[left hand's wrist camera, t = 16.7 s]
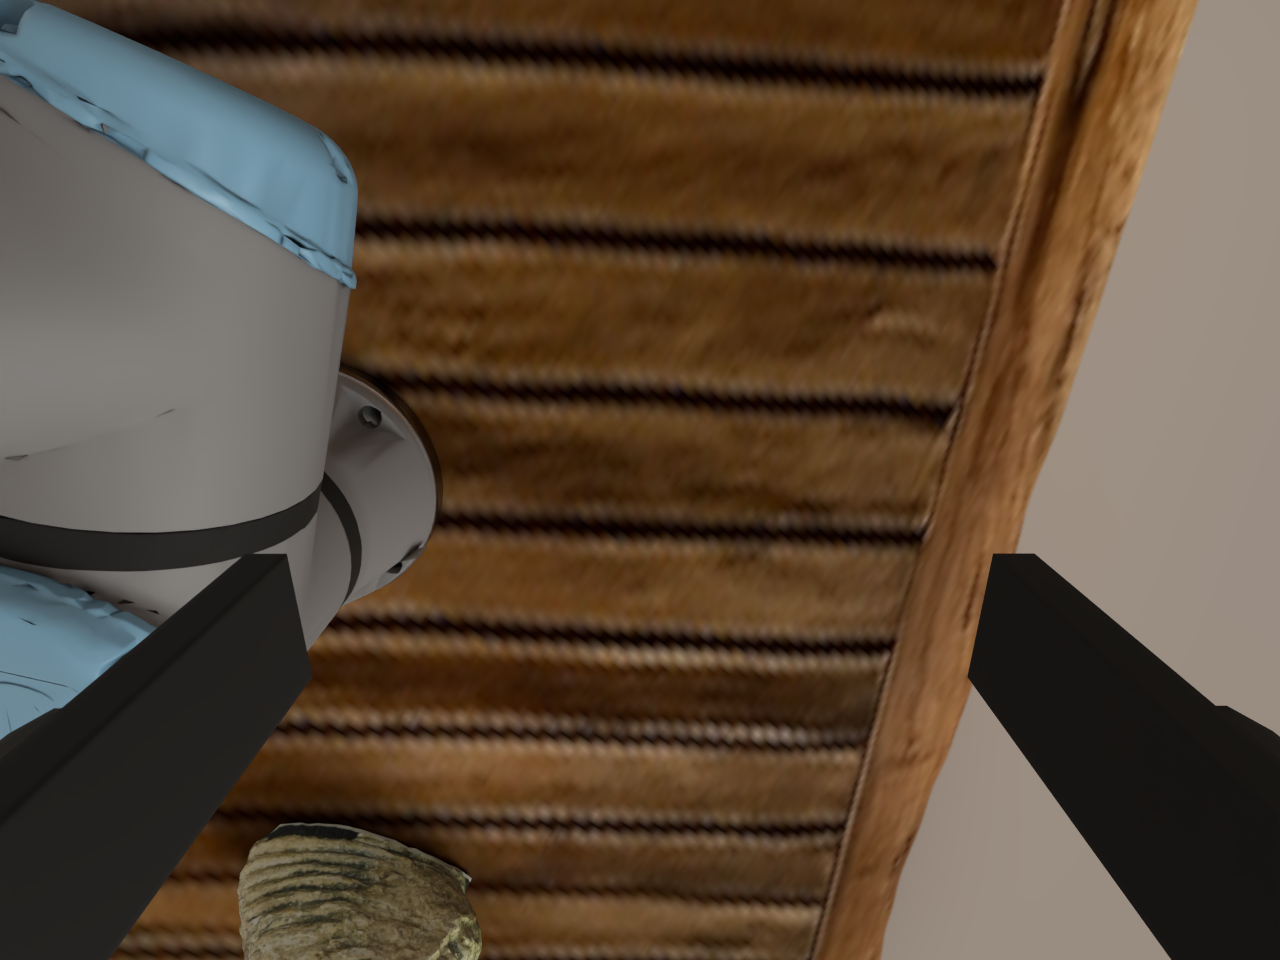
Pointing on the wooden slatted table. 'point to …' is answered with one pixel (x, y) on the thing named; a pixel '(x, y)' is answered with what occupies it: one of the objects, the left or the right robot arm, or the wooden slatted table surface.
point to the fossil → (351, 899)
